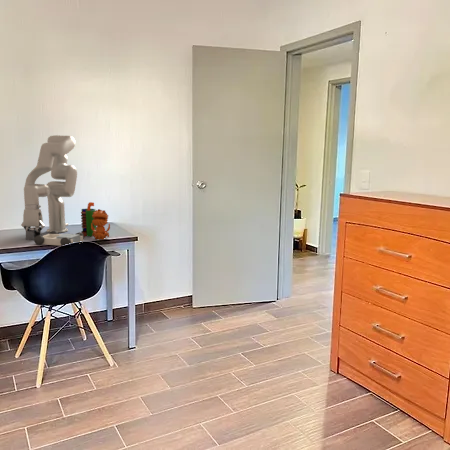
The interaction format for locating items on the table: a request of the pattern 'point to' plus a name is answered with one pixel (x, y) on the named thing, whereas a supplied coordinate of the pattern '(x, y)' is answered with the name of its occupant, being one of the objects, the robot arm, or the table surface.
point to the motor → (87, 220)
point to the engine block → (31, 233)
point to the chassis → (58, 238)
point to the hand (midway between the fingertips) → (33, 237)
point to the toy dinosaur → (100, 224)
